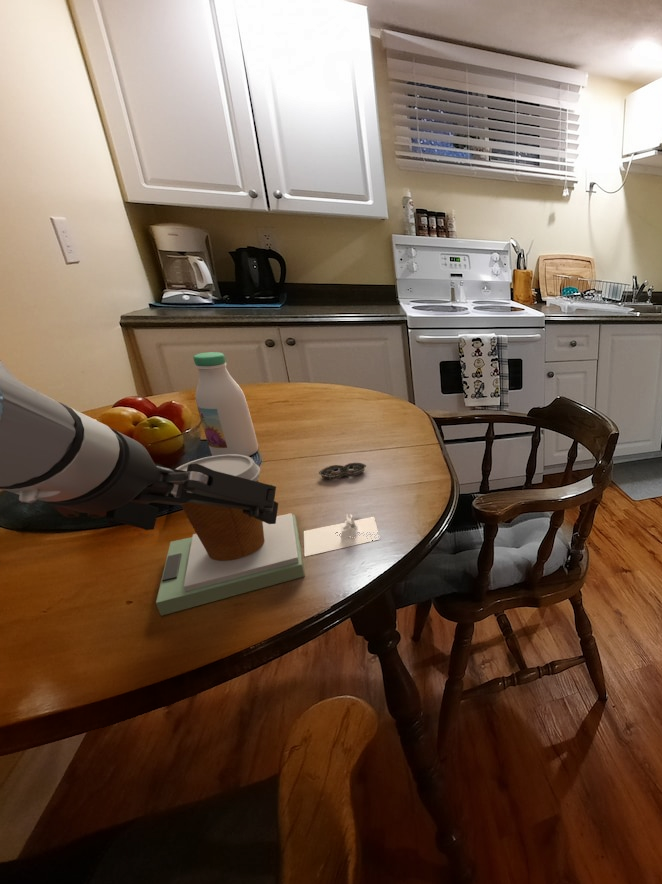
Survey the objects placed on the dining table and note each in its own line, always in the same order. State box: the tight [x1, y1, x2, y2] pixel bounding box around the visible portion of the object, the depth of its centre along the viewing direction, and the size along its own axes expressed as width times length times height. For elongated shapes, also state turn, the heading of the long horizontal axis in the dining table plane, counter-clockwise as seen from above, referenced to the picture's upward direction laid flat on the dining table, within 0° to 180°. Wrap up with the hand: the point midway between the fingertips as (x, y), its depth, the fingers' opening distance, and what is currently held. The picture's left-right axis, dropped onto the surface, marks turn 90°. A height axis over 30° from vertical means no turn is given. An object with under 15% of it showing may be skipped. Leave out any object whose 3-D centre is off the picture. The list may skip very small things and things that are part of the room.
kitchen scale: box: [155, 512, 306, 617], centre depth 67 cm, size 14×15×3 cm
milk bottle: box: [192, 351, 259, 457], centre depth 94 cm, size 8×8×20 cm
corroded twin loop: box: [318, 462, 367, 481], centre depth 92 cm, size 5×8×1 cm, turn 116°
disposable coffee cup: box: [170, 454, 265, 561], centre depth 64 cm, size 10×10×12 cm
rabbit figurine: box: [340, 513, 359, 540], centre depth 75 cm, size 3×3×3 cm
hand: (214, 516), depth 62 cm, fingers open, 13 cm apart
